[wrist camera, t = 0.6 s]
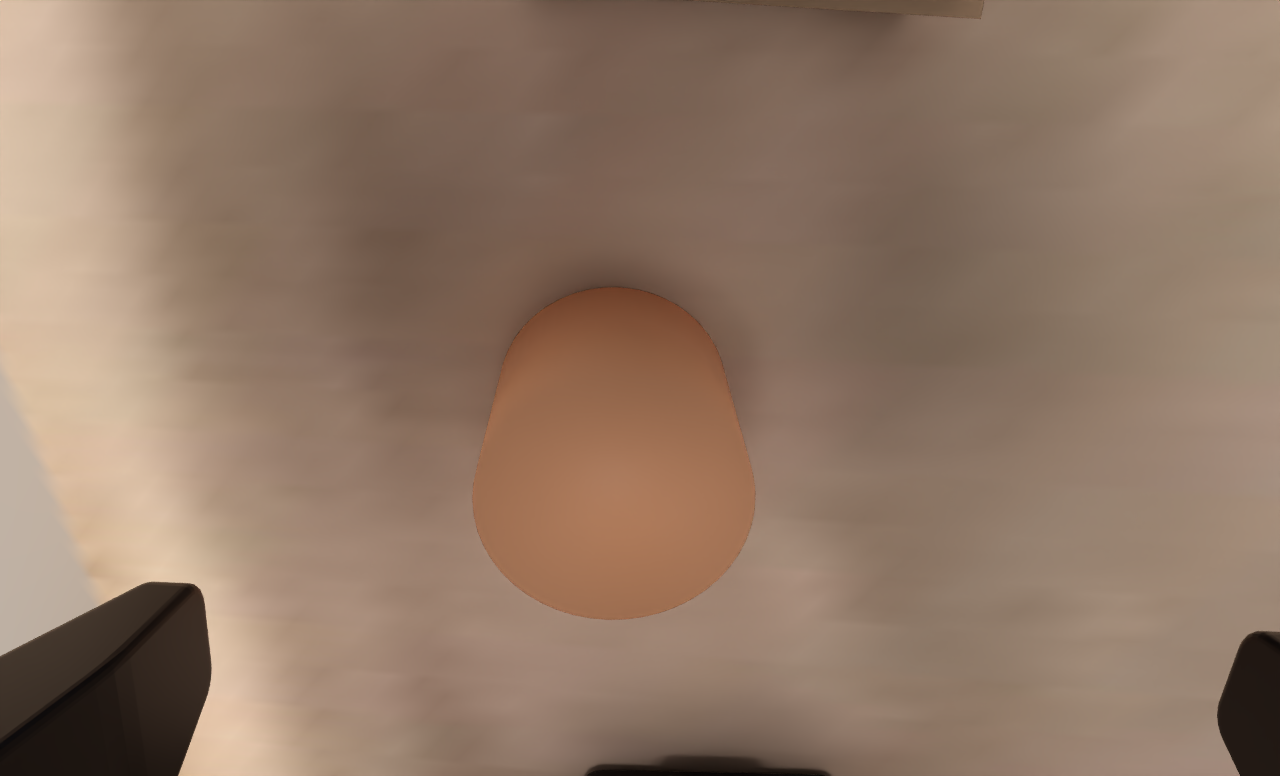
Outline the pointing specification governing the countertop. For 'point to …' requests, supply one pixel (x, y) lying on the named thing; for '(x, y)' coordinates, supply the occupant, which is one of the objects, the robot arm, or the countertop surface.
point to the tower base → (882, 6)
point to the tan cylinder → (613, 459)
